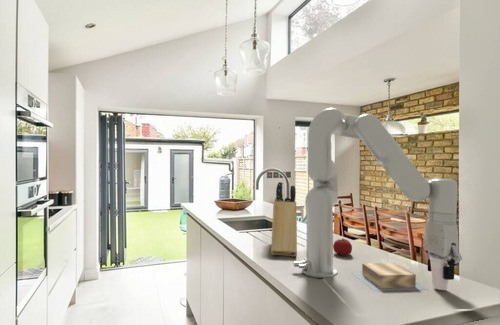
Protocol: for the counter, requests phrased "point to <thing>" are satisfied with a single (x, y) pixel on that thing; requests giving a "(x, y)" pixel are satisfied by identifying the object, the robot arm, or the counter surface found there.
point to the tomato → (342, 247)
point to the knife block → (284, 224)
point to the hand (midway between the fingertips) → (440, 274)
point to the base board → (376, 288)
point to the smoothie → (438, 272)
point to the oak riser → (388, 275)
